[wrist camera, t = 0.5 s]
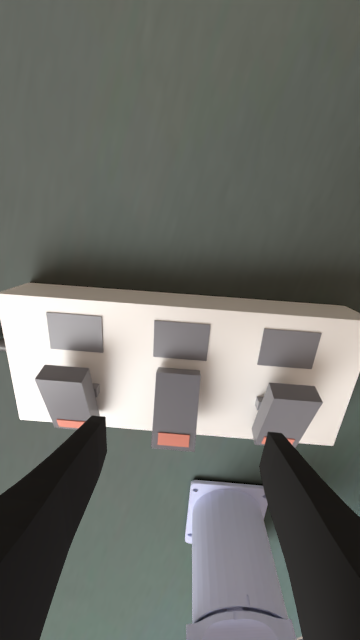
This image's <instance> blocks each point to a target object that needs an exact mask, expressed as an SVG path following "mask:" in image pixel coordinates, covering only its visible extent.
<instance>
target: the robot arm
mask: <svg viewBox="0 0 360 640" xmlns="http://www.w3.org/2000/svg"><path fill="white" fill-rule="evenodd" d="M106 453H107V443H106V417H103V416H93V415H92V416H91V417H90V418H89V419H88V420H86V421H85V422H84V423H83V424H82V425H81V426H80V427H79V428H78V429H77V430H76V431H75V432H74V433H73V434H72V435H71V436H70V437H69V438H68V439H67V440H66V441H65V442H64V443H63V444H62V445H61V446H60V447H58V448H57V449H56V450H55V451H54V452H53V453H52V454H51V455H50V456H49V457H47V458H46V459H45V460H44V461H43V462H42V463H40V464H39V465H38V466H37V467H36V468H35V469H33V470H32V471H31V472H30V473H29V474H27V475H26V476H25V477H24V478H22V479H21V480H20V481H18V482H17V483H16V484H15V485H13V486H12V487H11V488H9V489H8V490H7V491H5V492H4V493H3V494H1V495H0V640H39V639H40V636H41V633H42V630H43V627H44V623H45V620H46V617H47V614H48V611H49V608H50V605H51V602H52V599H53V596H54V592H55V589H56V586H57V583H58V580H59V577H60V574H61V571H62V568H63V565H64V562H65V560H66V557H67V554H68V551H69V548H70V545H71V543H72V540H73V538H74V535H75V533H76V531H77V528H78V526H79V523H80V521H81V519H82V516H83V514H84V512H85V509H86V507H87V505H88V502H89V500H90V498H91V495H92V493H93V490H94V488H95V486H96V483H97V481H98V478H99V476H100V473H101V470H102V466H103V463H104V460H105V456H106ZM259 467H260V472H261V478H262V483H263V486H261V485H250V484H238V483H227V482H216V481H204V480H193V481H192V482H191V487H190V496H189V505H188V514H187V523H186V532H185V541H186V542H187V543H192V624H187V625H186V640H297V639H296V636H295V632H294V628H293V624H292V620H291V619H288V616H287V612H286V608H285V604H284V600H283V596H282V591H281V587H280V583H279V579H278V575H277V571H276V567H275V563H274V559H273V555H272V551H271V547H270V543H269V539H268V535H267V531H266V527H265V523H264V517H265V513H266V509H267V506H269V509H270V513H271V516H272V519H273V522H274V526H275V529H276V532H277V535H278V539H279V542H280V545H281V548H282V552H283V555H284V558H285V562H286V566H287V569H288V573H289V577H290V582H291V586H292V591H293V595H294V599H295V604H296V608H297V613H298V618H299V623H300V627H301V632H302V637H303V639H300V640H360V517H359V516H358V515H357V514H356V513H354V512H353V511H352V510H351V509H350V508H349V507H348V506H347V505H346V504H345V503H344V502H343V501H342V500H341V499H340V498H339V496H338V495H337V494H336V493H335V492H334V491H333V490H332V489H331V488H330V487H329V486H328V485H327V484H326V483H325V482H324V481H323V480H322V479H321V477H320V476H319V475H318V474H317V473H316V472H315V471H314V470H313V469H312V467H311V466H310V465H309V464H308V463H307V462H306V461H305V459H304V458H303V457H302V456H301V455H300V454H299V452H298V451H297V450H296V449H295V448H294V447H293V445H292V444H291V443H290V442H289V441H288V439H287V438H286V437H285V436H284V435H283V434H282V433H277V432H268V433H267V437H266V442H265V446H264V450H263V454H262V458H261V462H260V466H259Z"/></svg>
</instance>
